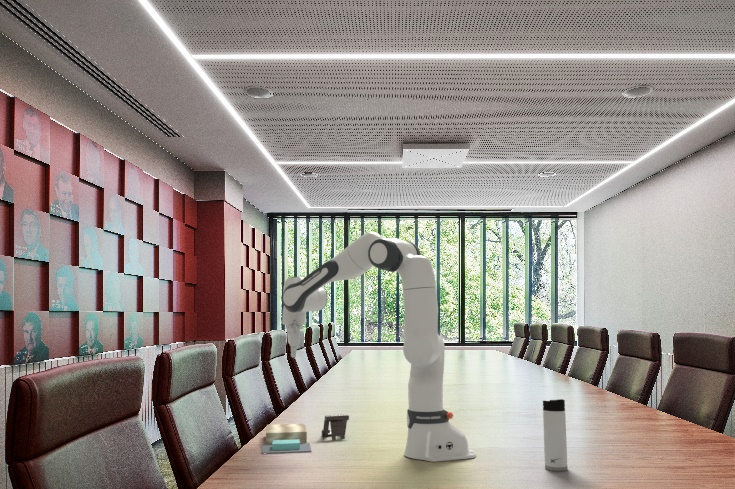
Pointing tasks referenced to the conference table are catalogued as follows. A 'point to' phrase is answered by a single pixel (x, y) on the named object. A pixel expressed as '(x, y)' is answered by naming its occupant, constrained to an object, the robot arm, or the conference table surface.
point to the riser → (286, 432)
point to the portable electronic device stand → (335, 426)
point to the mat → (303, 448)
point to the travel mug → (555, 435)
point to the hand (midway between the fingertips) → (293, 357)
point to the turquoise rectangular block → (286, 444)
